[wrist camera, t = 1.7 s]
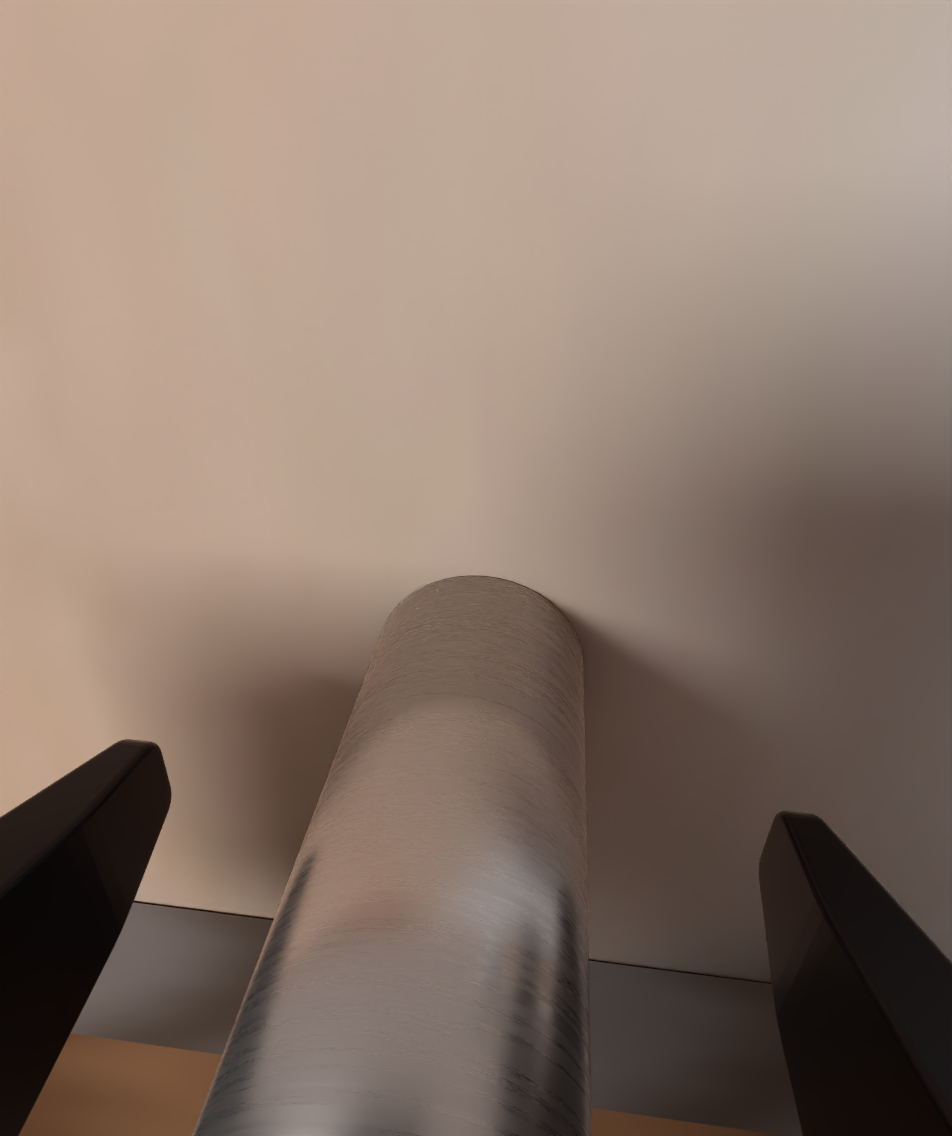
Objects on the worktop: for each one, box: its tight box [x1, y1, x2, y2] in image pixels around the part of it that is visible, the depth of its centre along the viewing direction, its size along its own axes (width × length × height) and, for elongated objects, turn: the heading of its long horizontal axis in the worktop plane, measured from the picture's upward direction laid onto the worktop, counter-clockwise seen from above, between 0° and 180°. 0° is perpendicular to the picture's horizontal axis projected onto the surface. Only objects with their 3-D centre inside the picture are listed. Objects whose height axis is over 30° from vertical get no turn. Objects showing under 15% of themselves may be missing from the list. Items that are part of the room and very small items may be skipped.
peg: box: [192, 576, 592, 1136], centre depth 7 cm, size 3×3×8 cm
